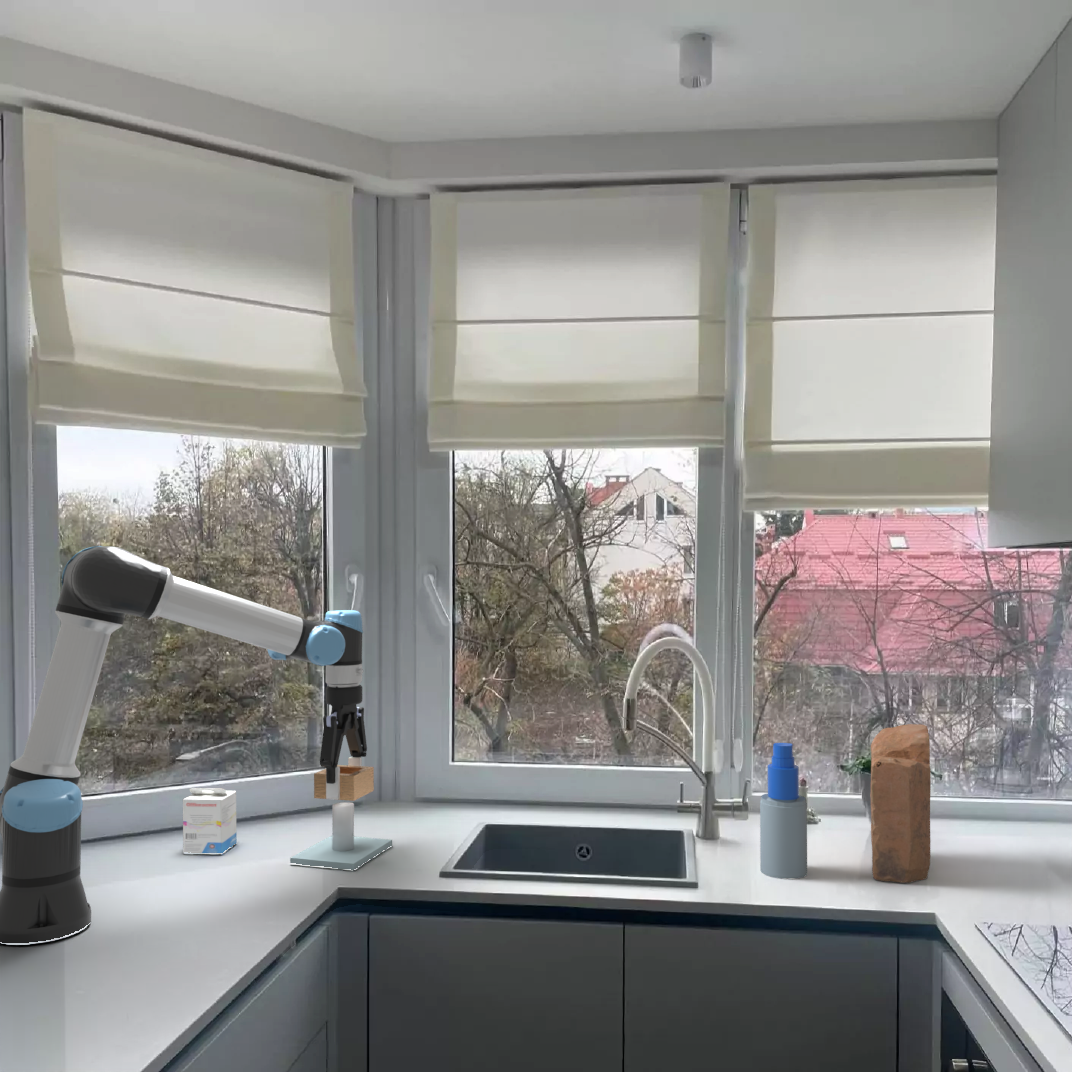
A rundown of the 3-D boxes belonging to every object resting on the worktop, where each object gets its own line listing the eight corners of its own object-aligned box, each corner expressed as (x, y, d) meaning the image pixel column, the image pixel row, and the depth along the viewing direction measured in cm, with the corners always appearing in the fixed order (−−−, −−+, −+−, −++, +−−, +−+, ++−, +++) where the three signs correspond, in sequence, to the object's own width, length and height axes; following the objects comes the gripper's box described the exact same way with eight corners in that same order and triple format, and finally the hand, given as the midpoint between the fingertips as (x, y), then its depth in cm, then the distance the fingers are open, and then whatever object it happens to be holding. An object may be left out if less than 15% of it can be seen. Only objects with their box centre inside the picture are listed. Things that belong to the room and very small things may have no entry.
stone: (935, 888, 184) (933, 735, 186) (871, 882, 188) (869, 732, 190) (928, 860, 205) (926, 722, 207) (870, 855, 208) (869, 720, 210)
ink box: (237, 844, 214) (238, 782, 214) (221, 856, 205) (222, 790, 206) (199, 843, 214) (199, 781, 215) (181, 855, 206) (182, 790, 207)
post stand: (353, 871, 195) (353, 817, 195) (290, 865, 199) (290, 812, 199) (392, 846, 212) (392, 797, 212) (333, 841, 216) (333, 792, 216)
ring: (354, 800, 200) (353, 775, 201) (314, 798, 203) (314, 773, 203) (373, 790, 209) (373, 766, 209) (335, 788, 212) (335, 764, 212)
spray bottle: (805, 866, 198) (804, 740, 199) (808, 880, 190) (807, 748, 190) (760, 863, 200) (759, 739, 201) (761, 877, 191) (760, 746, 192)
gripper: (335, 691, 195) (335, 807, 195) (383, 679, 216) (383, 783, 215) (301, 690, 197) (301, 804, 197) (351, 678, 218) (352, 781, 217)
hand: (344, 793), depth 206 cm, fingers closed on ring, 9 cm apart
